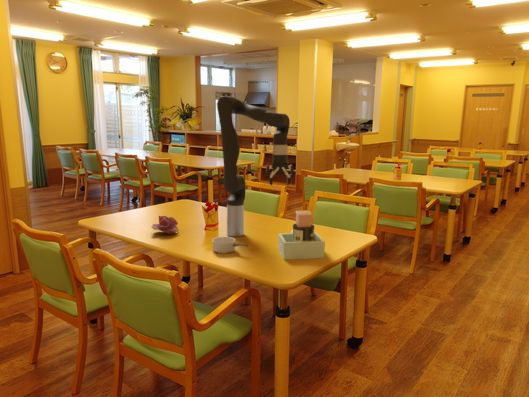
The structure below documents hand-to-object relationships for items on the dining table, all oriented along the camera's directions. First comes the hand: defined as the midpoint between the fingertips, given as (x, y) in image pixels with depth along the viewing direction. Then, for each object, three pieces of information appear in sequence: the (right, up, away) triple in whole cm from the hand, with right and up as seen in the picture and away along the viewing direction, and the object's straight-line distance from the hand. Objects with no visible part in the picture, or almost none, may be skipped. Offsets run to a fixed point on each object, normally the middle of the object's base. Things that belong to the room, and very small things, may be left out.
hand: (279, 185), depth 213 cm
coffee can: (+11, -34, -15) cm, 38 cm away
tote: (+10, -33, -14) cm, 38 cm away
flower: (-64, -27, +19) cm, 72 cm away
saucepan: (-24, -33, -13) cm, 43 cm away
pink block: (+11, -20, -17) cm, 28 cm away
